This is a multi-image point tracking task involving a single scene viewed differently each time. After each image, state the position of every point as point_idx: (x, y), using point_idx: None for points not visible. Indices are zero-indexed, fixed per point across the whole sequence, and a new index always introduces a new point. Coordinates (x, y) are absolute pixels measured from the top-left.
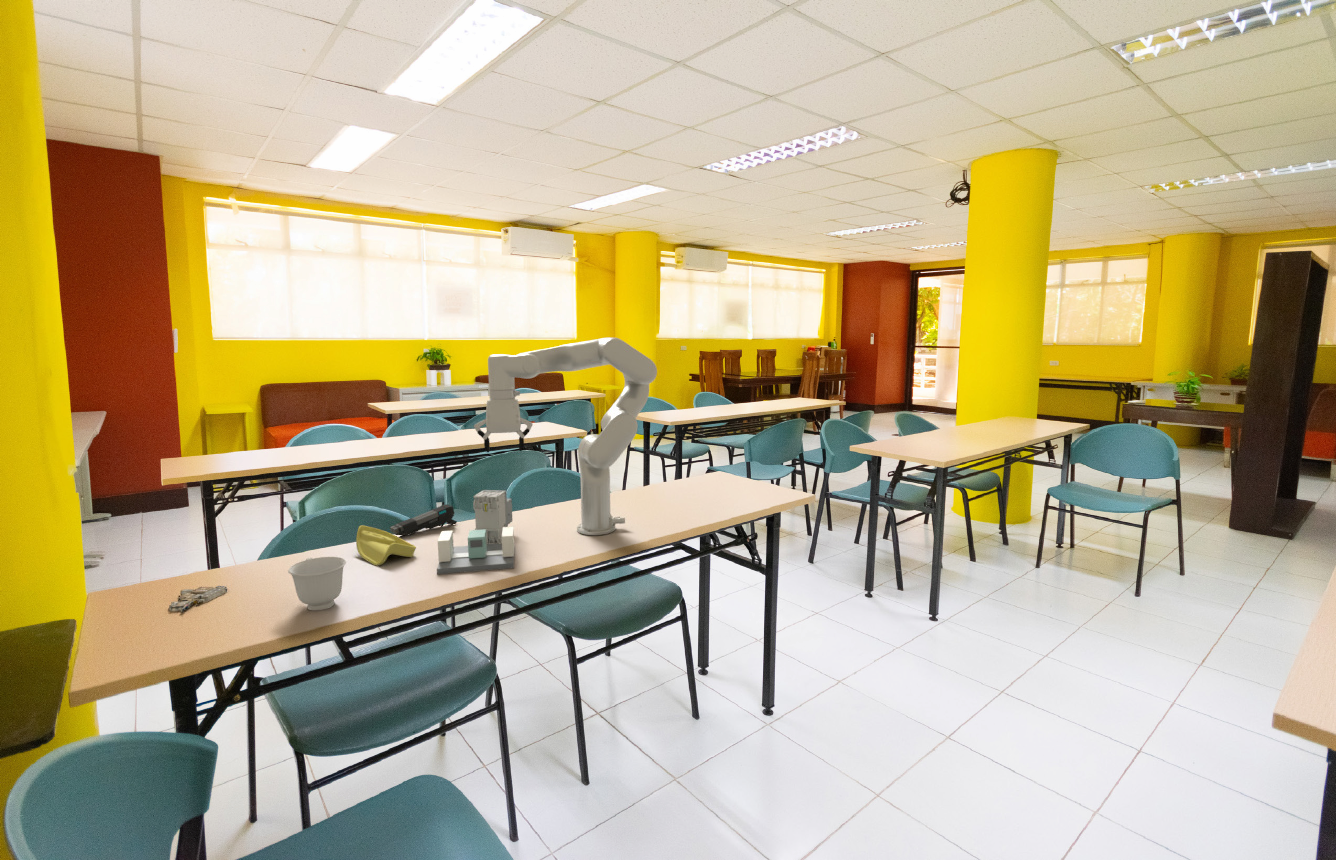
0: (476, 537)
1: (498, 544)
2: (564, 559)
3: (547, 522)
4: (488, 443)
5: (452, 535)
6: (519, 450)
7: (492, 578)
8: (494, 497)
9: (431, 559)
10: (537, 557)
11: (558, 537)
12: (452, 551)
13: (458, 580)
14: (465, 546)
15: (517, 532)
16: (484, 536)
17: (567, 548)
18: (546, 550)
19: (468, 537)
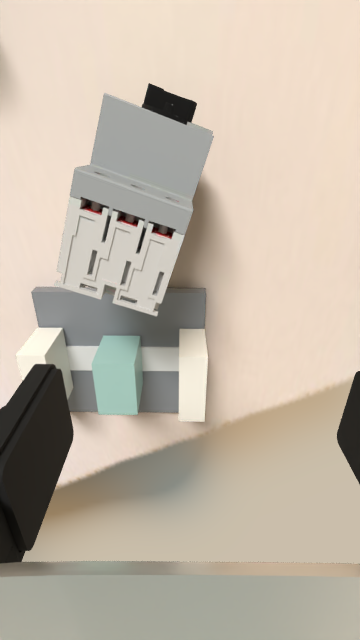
0: (119, 414)
1: (165, 300)
2: (302, 384)
3: (341, 29)
4: (40, 510)
5: (49, 357)
6: (337, 438)
7: (163, 436)
8: (145, 312)
9: (20, 327)
10: (251, 363)
11: (330, 234)
12: (64, 352)
13: (106, 433)
14: (83, 297)
15: (218, 148)
16: (137, 412)
17: (327, 325)
18: (277, 327)
19: (100, 411)
